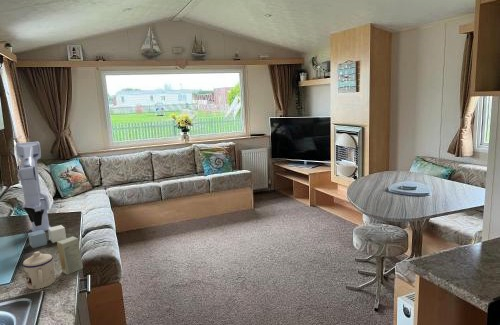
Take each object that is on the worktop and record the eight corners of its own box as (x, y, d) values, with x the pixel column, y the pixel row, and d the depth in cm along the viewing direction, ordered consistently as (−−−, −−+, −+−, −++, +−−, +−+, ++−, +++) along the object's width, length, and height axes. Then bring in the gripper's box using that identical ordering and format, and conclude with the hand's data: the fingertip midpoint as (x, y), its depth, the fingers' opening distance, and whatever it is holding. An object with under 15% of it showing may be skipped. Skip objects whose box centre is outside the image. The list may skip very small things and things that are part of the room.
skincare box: (78, 265, 141) (73, 235, 138) (83, 268, 138) (79, 238, 136) (61, 272, 136) (56, 241, 134) (66, 275, 133) (61, 243, 131)
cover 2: (49, 239, 169) (47, 228, 168) (63, 235, 173) (61, 224, 172) (52, 242, 165) (50, 231, 164) (66, 239, 169) (64, 227, 168)
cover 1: (29, 244, 164) (27, 233, 163) (44, 240, 168) (42, 229, 167) (32, 248, 160) (30, 236, 159) (47, 244, 163) (45, 232, 162)
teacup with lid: (26, 282, 129) (20, 251, 127) (55, 274, 134) (50, 244, 132) (27, 297, 119) (21, 263, 117) (58, 288, 124) (53, 256, 122)
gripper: (16, 193, 162) (21, 222, 164) (24, 199, 151) (30, 230, 154) (34, 189, 167) (39, 218, 169) (43, 195, 156) (48, 225, 159)
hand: (36, 223), depth 162 cm, fingers open, 7 cm apart
